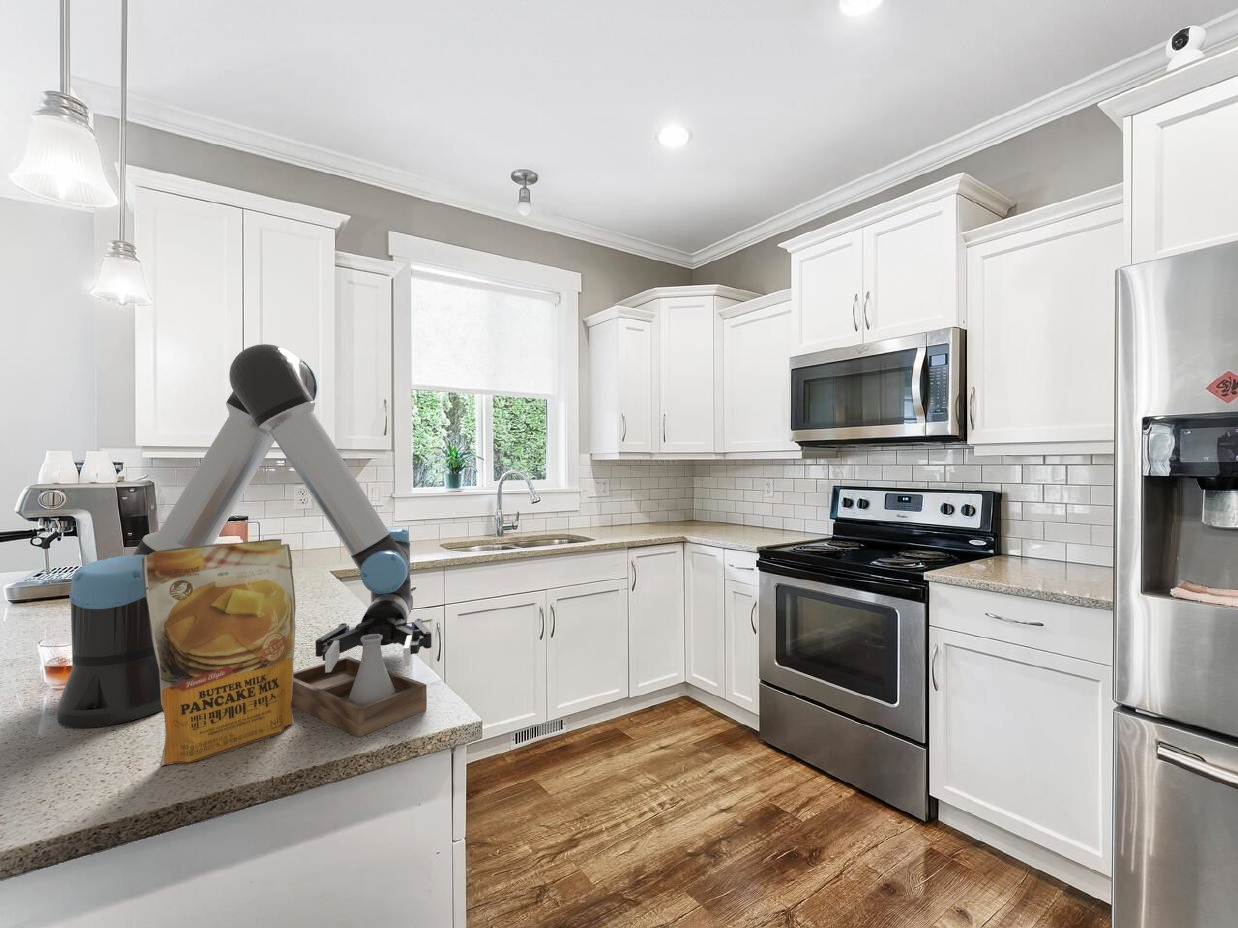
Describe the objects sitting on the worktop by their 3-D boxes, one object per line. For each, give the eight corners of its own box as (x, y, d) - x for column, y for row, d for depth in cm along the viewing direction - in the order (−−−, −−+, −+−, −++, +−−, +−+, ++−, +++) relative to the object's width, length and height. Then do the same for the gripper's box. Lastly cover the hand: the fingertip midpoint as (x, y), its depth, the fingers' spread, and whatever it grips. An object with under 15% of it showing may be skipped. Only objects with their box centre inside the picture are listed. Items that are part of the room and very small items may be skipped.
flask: (348, 713, 90) (348, 646, 89) (345, 696, 96) (344, 633, 96) (400, 704, 93) (399, 639, 93) (393, 687, 99) (392, 627, 99)
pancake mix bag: (138, 760, 80) (135, 549, 80) (291, 712, 95) (289, 534, 94) (151, 777, 76) (148, 555, 75) (309, 725, 90) (307, 538, 90)
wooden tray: (426, 709, 96) (426, 684, 96) (358, 737, 86) (358, 709, 86) (348, 678, 109) (348, 656, 109) (281, 699, 99) (281, 675, 99)
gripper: (449, 635, 115) (446, 677, 93) (318, 644, 109) (283, 692, 88) (449, 595, 115) (446, 629, 93) (318, 603, 109) (283, 640, 87)
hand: (367, 659), depth 90 cm, fingers open, 10 cm apart
